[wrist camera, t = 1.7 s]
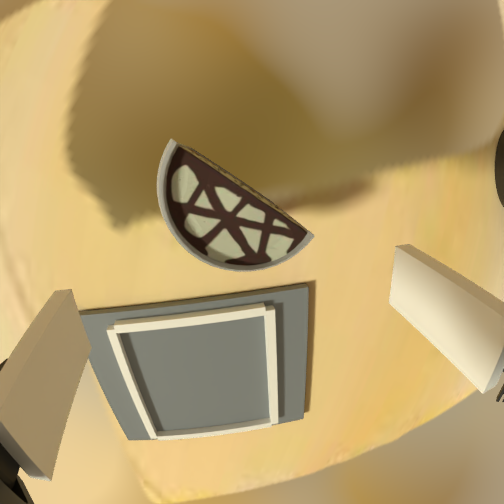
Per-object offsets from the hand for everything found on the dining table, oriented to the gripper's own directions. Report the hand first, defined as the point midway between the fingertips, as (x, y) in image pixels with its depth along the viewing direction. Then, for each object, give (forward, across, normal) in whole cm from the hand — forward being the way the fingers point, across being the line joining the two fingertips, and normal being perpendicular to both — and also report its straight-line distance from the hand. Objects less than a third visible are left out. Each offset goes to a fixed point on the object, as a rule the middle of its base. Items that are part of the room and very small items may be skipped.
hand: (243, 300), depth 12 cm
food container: (+20, 0, 0) cm, 20 cm away
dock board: (+20, +4, +21) cm, 29 cm away
